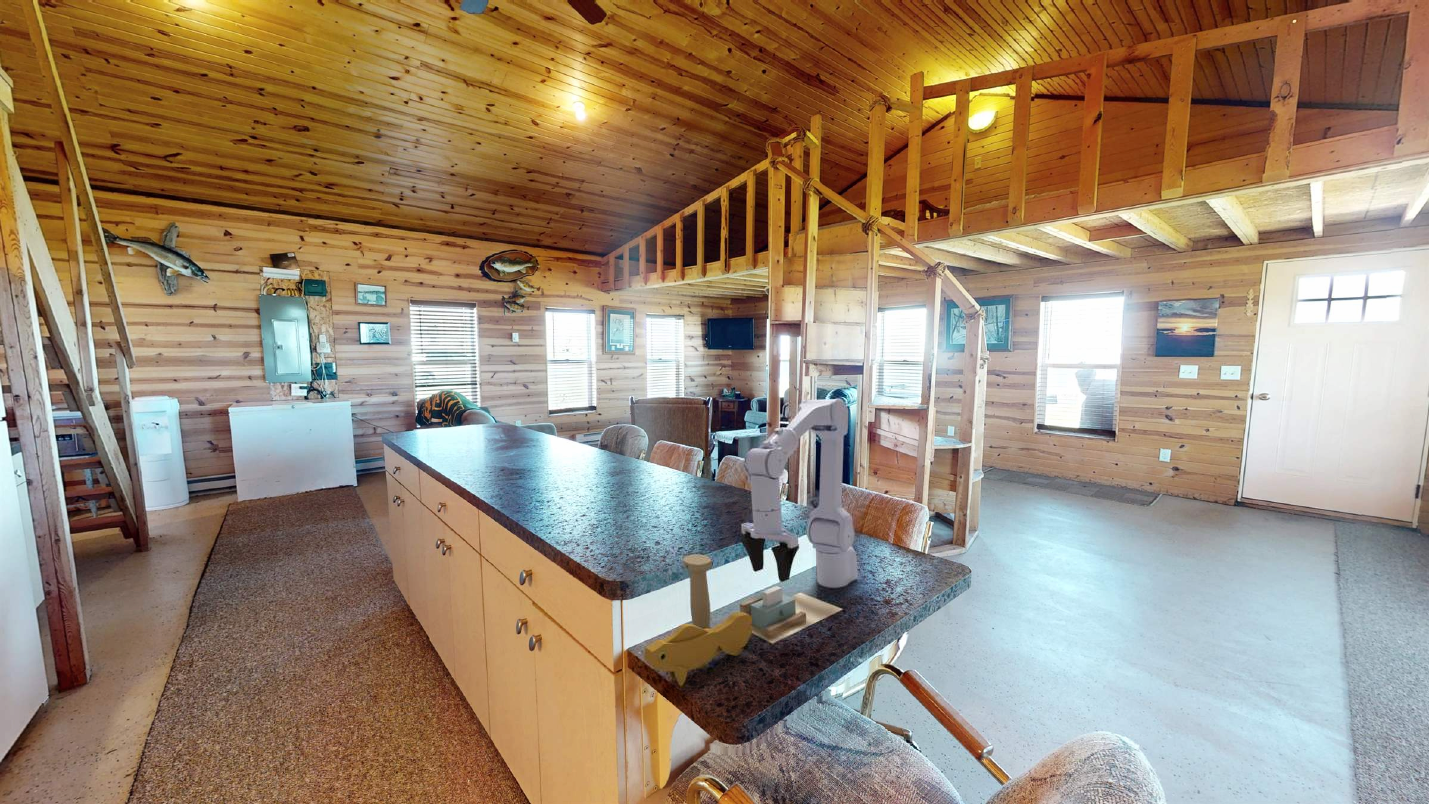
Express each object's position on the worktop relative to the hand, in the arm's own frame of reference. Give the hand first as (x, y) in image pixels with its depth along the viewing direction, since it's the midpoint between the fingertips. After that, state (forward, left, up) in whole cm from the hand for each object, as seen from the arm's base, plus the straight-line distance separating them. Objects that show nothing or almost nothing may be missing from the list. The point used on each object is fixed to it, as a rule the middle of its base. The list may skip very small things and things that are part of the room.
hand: (771, 575), depth 104 cm
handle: (+12, -8, -10) cm, 18 cm away
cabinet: (0, 0, -9) cm, 9 cm away
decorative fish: (+19, +3, -11) cm, 22 cm away
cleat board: (-4, 0, -10) cm, 11 cm away
